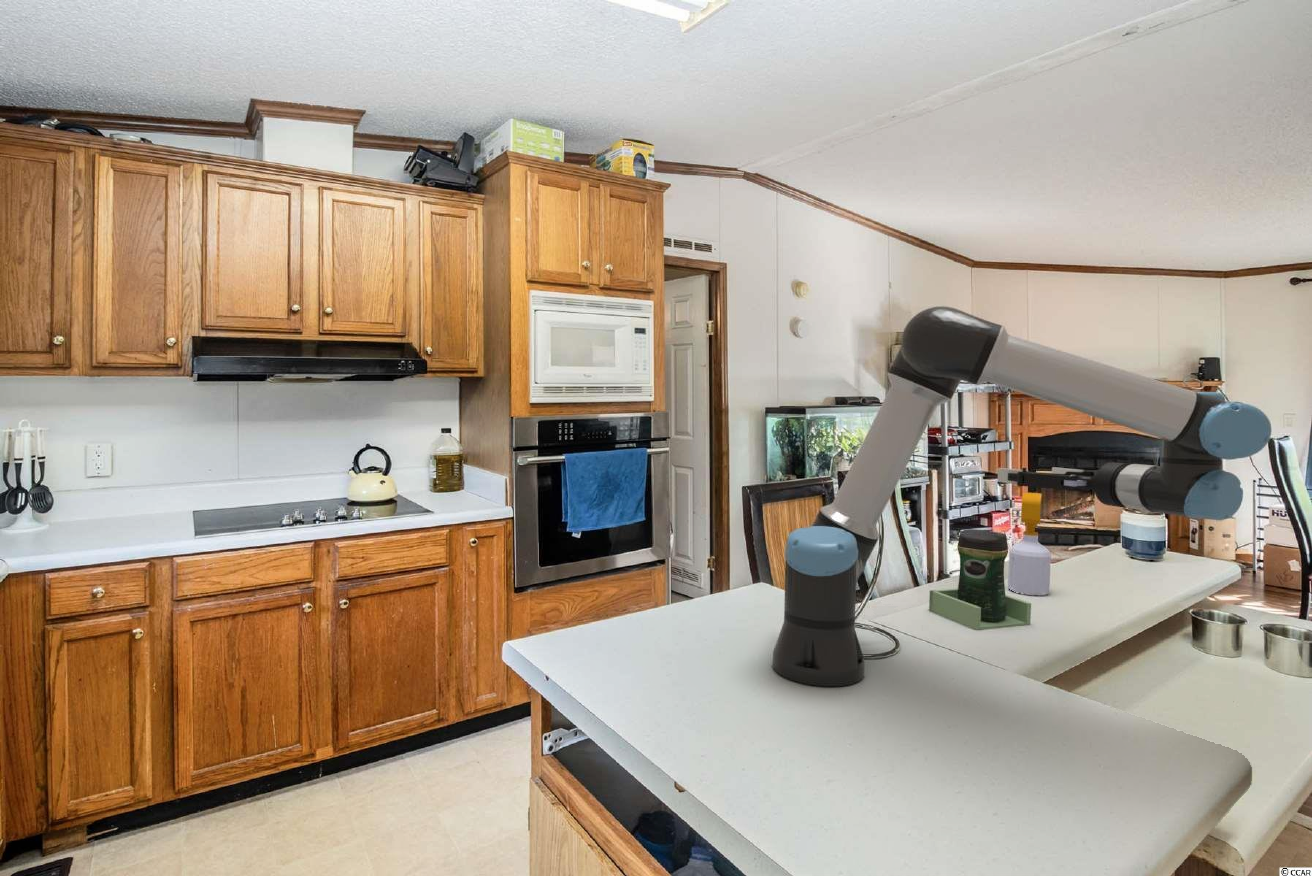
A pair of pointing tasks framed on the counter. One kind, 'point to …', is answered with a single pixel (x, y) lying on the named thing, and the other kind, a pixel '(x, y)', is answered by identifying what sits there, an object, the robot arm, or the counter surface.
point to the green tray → (977, 610)
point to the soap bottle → (1029, 553)
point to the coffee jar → (983, 572)
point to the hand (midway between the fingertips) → (1026, 474)
